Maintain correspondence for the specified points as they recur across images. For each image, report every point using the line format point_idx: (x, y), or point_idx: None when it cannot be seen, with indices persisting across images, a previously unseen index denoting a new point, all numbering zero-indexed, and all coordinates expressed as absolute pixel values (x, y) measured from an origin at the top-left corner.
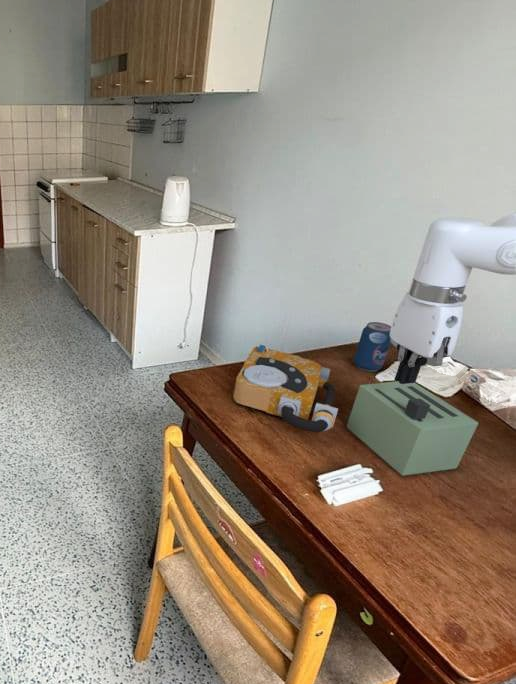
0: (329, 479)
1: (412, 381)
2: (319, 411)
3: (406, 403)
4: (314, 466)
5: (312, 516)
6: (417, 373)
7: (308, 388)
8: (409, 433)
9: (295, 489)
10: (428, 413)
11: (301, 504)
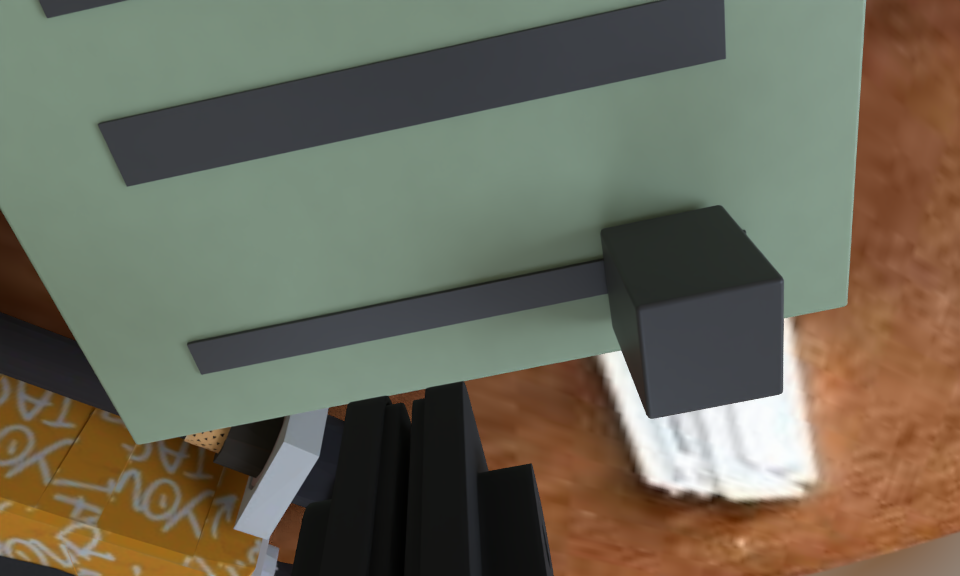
0: (674, 452)
1: (535, 482)
2: (293, 502)
3: (440, 214)
4: (588, 477)
5: (844, 553)
6: (544, 561)
7: (94, 568)
8: None
9: (711, 565)
10: (626, 102)
11: (785, 566)
